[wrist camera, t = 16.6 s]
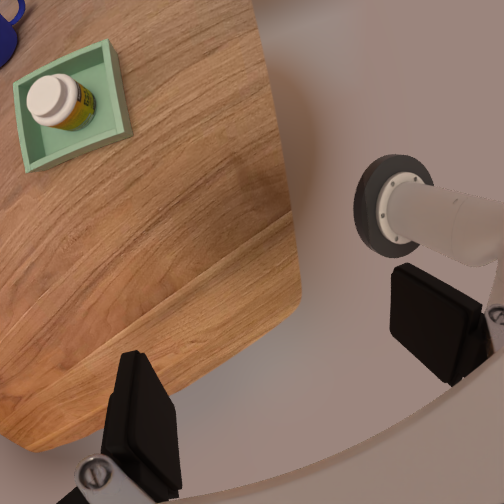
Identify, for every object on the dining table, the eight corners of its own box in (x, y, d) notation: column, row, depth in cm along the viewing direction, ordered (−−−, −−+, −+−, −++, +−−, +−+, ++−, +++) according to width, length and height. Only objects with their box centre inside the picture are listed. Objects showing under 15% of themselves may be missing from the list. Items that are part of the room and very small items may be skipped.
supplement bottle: (105, 112, 29) (77, 96, 19) (70, 140, 29) (32, 136, 19) (85, 80, 27) (55, 56, 17) (51, 108, 26) (12, 95, 17)
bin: (117, 54, 27) (108, 38, 22) (133, 136, 31) (124, 132, 26) (32, 90, 25) (12, 83, 20) (45, 170, 29) (25, 173, 24)
